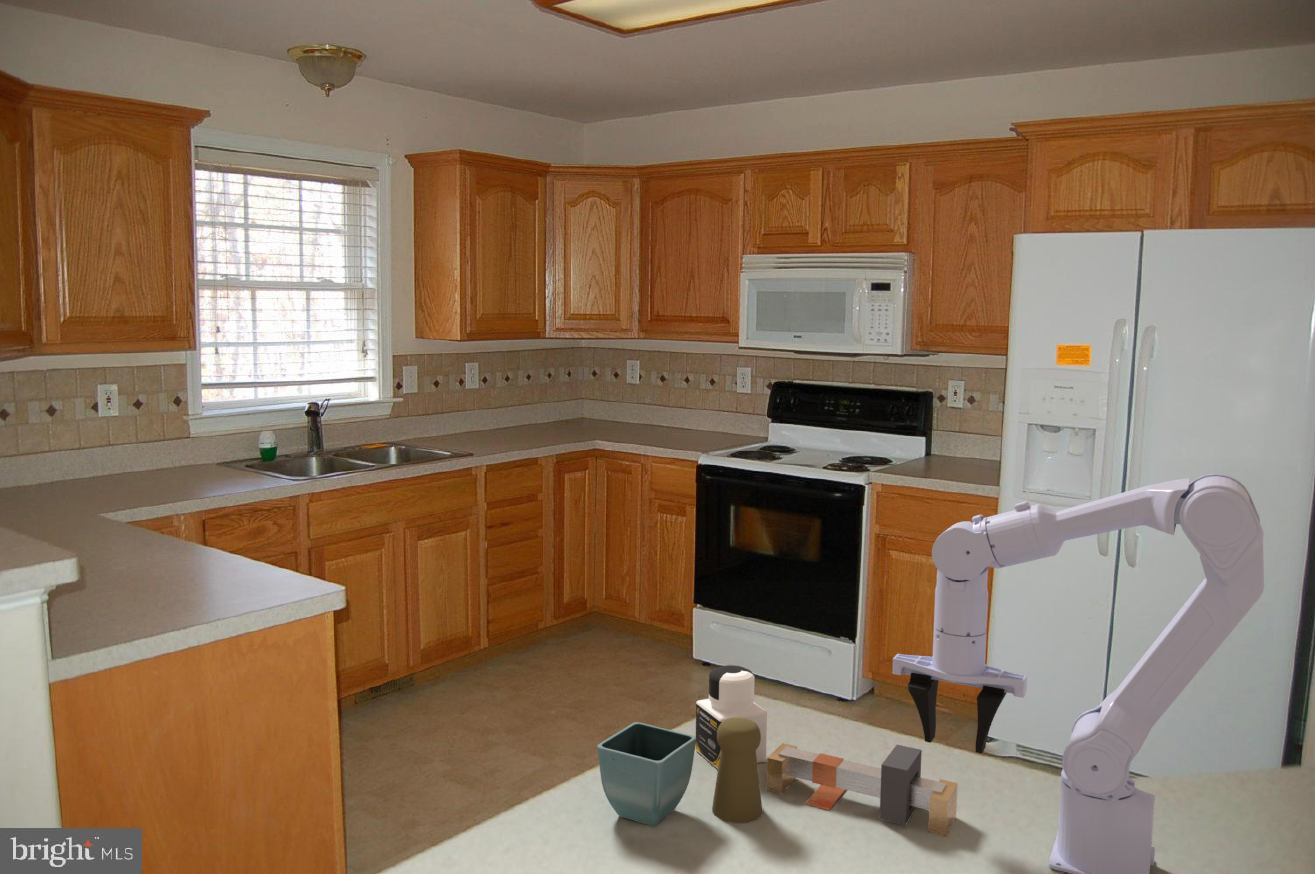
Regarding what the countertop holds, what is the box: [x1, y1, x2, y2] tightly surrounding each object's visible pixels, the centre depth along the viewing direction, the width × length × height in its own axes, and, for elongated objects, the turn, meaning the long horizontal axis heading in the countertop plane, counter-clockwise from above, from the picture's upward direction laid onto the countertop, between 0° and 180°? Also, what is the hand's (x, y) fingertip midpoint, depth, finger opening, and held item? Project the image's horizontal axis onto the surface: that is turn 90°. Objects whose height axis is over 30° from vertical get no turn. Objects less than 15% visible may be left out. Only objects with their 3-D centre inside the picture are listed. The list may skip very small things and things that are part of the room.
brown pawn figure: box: [711, 717, 764, 824], centre depth 116 cm, size 6×6×11 cm
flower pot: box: [596, 721, 696, 827], centre depth 115 cm, size 9×9×9 cm
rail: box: [766, 742, 958, 837], centre depth 118 cm, size 22×7×4 cm, turn 61°
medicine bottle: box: [695, 664, 768, 770], centre depth 130 cm, size 7×7×12 cm
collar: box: [879, 744, 923, 826], centre depth 115 cm, size 3×6×7 cm, turn 151°
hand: (954, 744), depth 112 cm, fingers open, 5 cm apart
